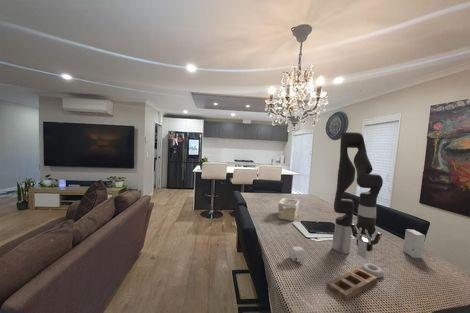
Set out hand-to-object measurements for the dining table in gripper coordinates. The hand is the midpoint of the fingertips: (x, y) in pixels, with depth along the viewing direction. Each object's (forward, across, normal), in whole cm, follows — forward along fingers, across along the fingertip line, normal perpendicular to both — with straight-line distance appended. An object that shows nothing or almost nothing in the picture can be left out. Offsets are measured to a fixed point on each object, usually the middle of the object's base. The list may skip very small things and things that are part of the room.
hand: (364, 248), depth 101 cm
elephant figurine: (+17, -28, -15) cm, 36 cm away
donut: (+17, -1, +12) cm, 21 cm away
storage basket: (+16, -84, +35) cm, 93 cm away
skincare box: (+16, +1, +57) cm, 59 cm away
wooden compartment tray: (+16, 0, -8) cm, 18 cm away
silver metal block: (+4, 0, 0) cm, 4 cm away
